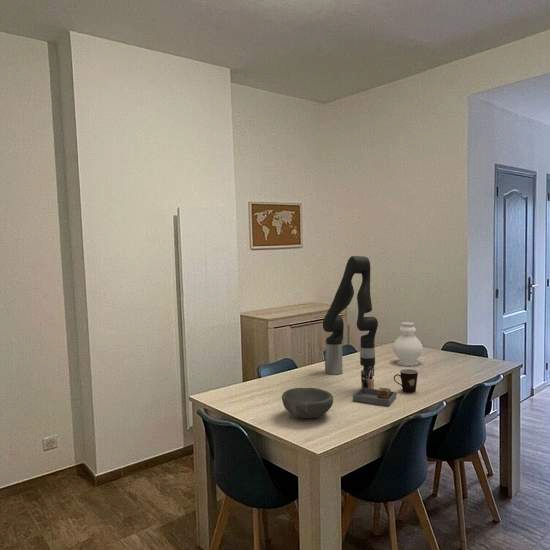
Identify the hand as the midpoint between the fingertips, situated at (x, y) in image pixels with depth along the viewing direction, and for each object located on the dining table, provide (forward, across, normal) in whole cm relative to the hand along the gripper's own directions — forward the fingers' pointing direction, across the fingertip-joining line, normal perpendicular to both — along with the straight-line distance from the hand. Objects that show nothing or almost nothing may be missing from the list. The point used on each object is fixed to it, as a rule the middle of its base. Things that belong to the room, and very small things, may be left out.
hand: (367, 387), depth 248 cm
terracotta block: (+1, 0, 0) cm, 1 cm away
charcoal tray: (+1, +14, +8) cm, 16 cm away
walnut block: (+1, +14, +12) cm, 19 cm away
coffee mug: (+1, -6, +18) cm, 19 cm away
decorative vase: (+1, -60, +6) cm, 60 cm away
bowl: (+1, +47, -12) cm, 49 cm away
